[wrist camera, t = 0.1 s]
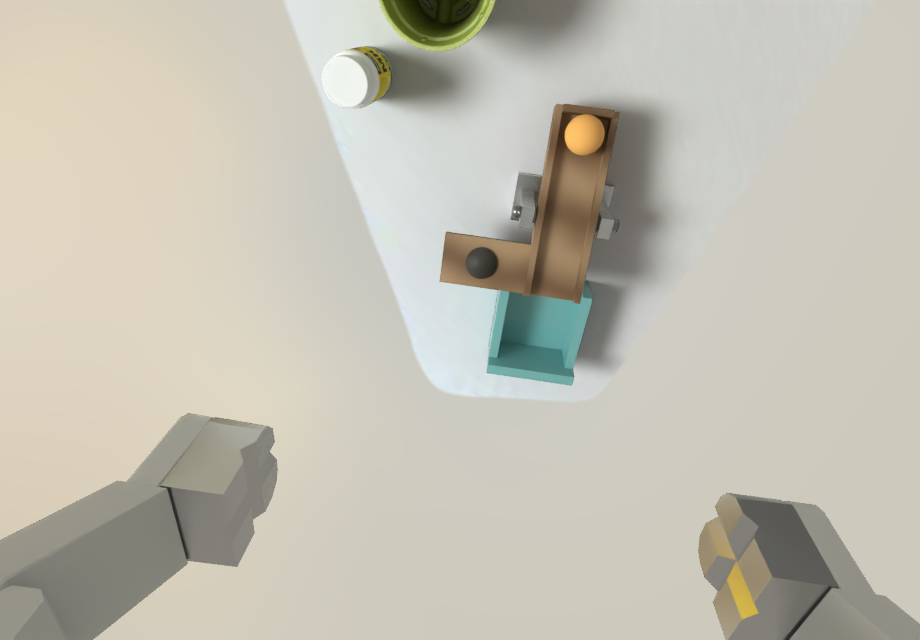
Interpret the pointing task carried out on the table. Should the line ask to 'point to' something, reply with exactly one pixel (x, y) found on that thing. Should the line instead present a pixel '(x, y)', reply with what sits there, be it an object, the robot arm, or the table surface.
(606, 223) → the fulcrum
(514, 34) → the table surface
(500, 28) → the table surface
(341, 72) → the supplement bottle
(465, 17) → the plant pot
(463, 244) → the lever
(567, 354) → the teal tray
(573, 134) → the ball
